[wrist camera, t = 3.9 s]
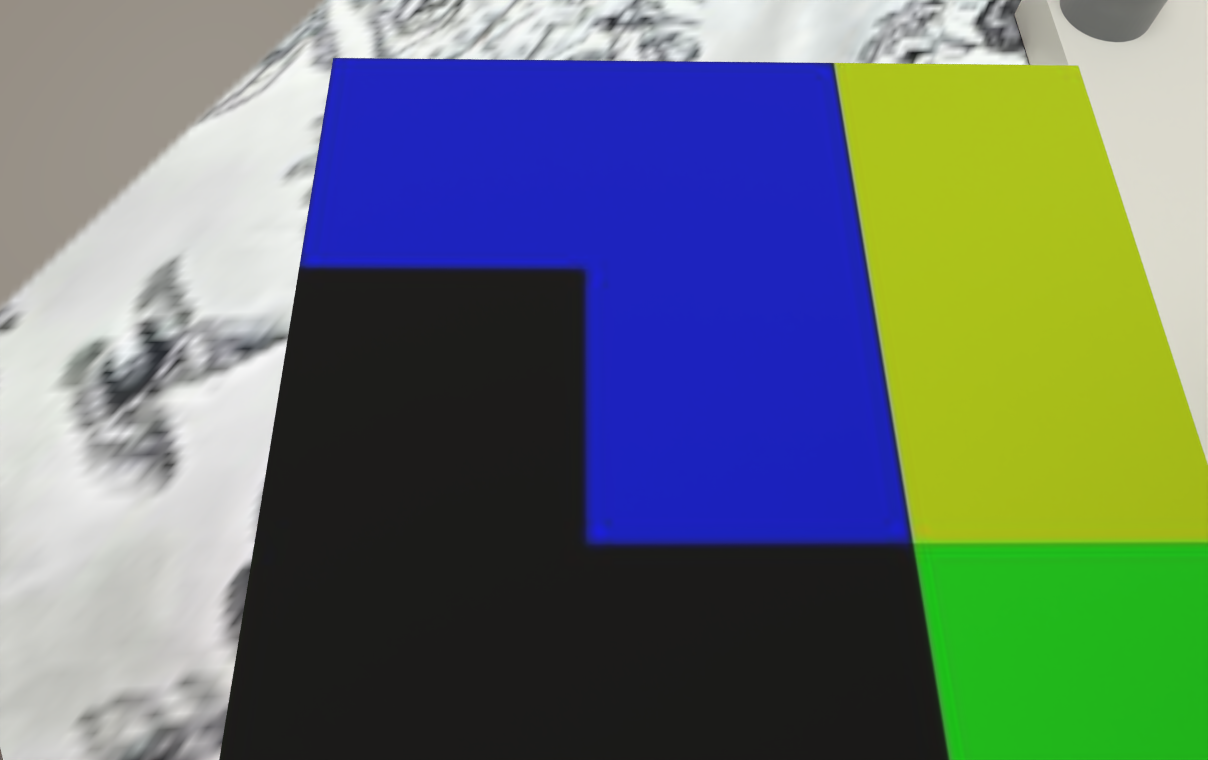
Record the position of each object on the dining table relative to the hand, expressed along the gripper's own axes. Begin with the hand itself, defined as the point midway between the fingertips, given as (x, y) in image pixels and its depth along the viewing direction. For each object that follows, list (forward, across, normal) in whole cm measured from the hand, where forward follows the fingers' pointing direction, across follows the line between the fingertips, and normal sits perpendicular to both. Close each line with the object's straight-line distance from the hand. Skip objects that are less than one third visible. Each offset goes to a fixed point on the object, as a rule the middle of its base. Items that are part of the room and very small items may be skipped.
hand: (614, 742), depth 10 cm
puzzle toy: (+8, +2, -4) cm, 9 cm away
